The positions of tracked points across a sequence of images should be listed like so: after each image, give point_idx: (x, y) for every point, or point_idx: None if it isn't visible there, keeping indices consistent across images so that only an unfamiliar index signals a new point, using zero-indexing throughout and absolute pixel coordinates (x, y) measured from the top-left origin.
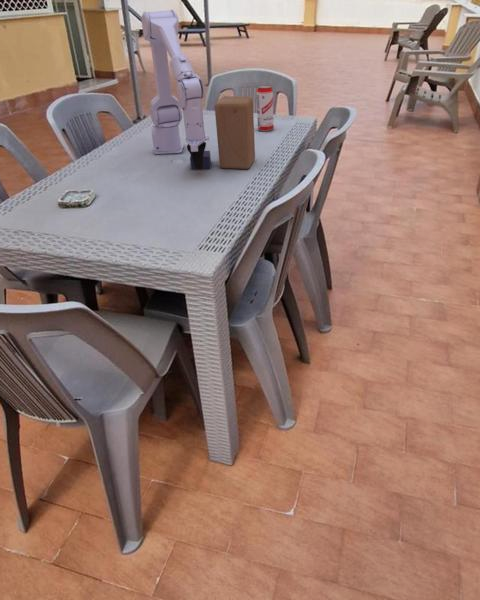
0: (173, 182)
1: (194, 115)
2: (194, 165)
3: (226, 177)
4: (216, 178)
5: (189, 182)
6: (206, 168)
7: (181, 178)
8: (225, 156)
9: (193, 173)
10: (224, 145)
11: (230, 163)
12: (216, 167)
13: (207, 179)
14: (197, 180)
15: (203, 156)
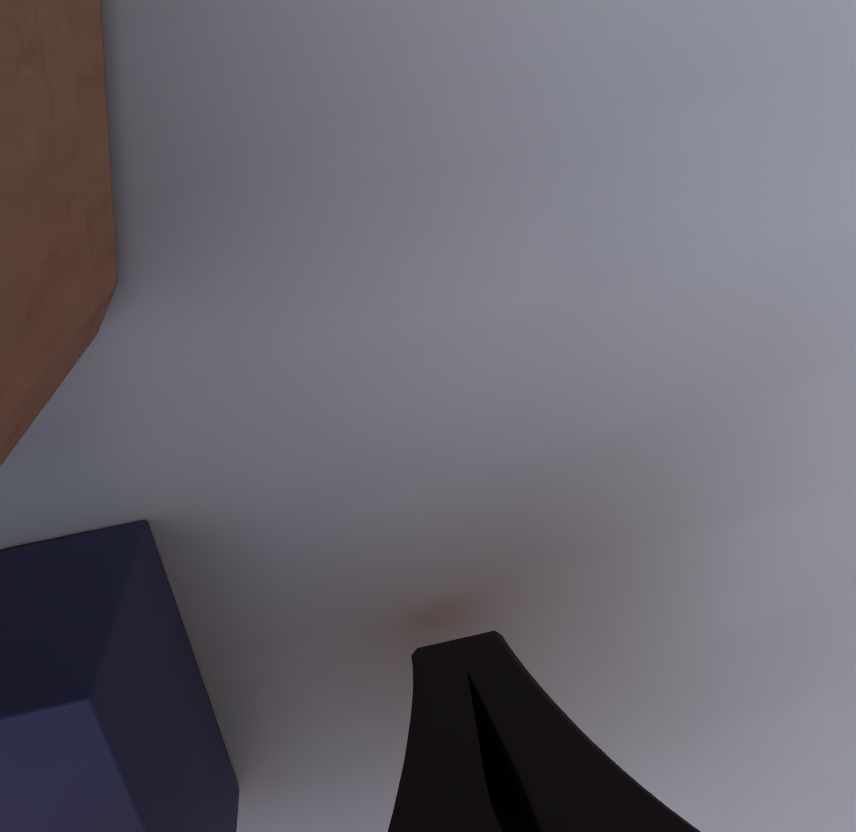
0: (759, 818)
1: None
2: (219, 803)
3: (642, 53)
4: (677, 263)
5: (794, 640)
6: (167, 582)
7: None
8: (37, 198)
9: None
10: None
11: (84, 20)
12: None
13: (708, 416)
14: (731, 558)
15: (121, 808)
